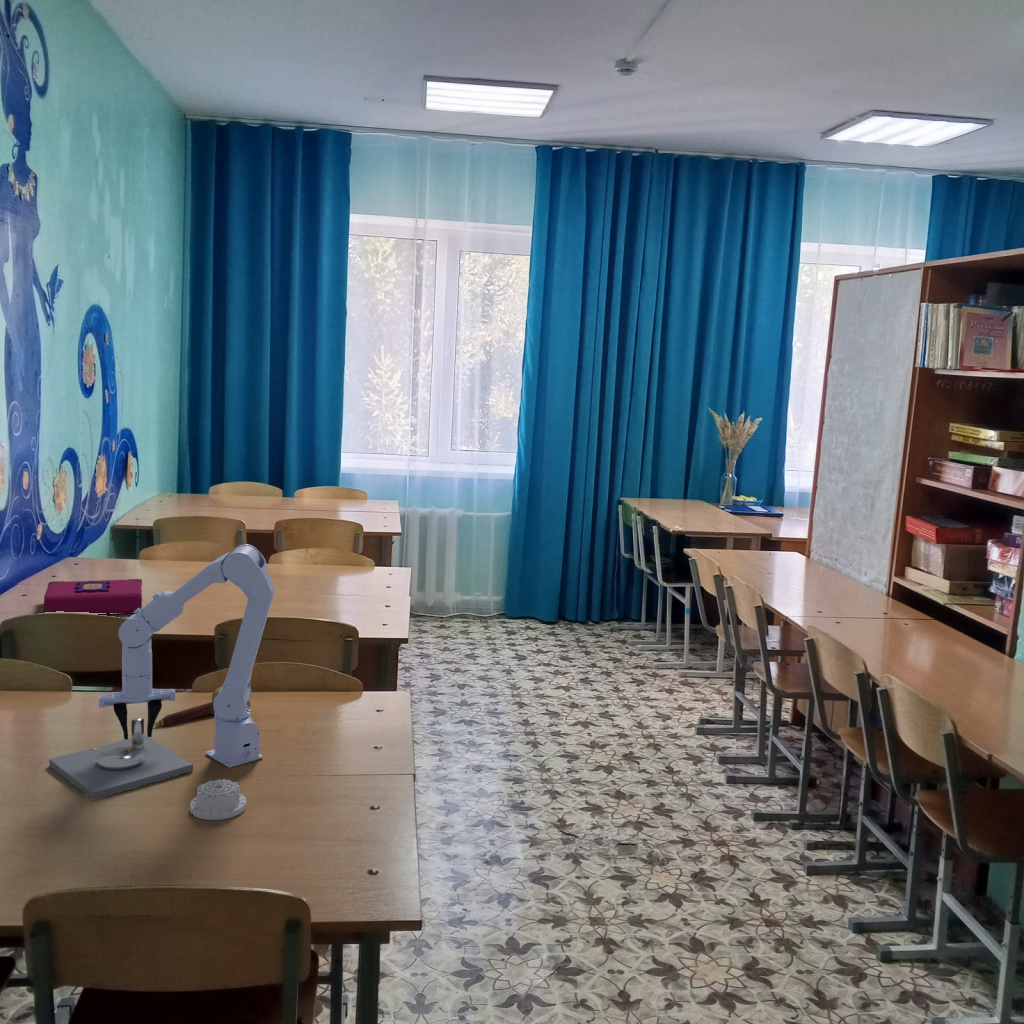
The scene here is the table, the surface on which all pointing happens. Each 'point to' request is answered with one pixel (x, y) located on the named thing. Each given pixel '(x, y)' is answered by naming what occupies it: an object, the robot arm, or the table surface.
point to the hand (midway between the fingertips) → (137, 736)
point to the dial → (126, 750)
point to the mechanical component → (218, 800)
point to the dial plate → (106, 782)
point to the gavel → (191, 712)
